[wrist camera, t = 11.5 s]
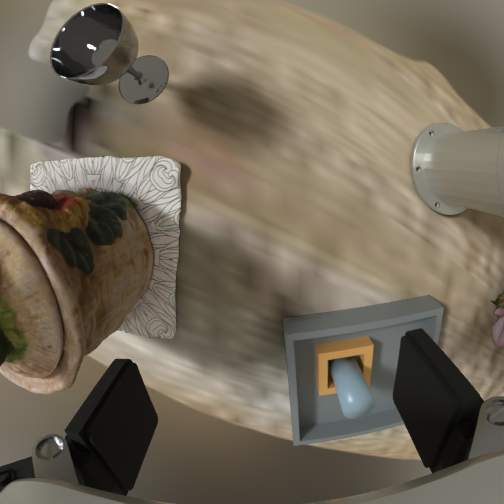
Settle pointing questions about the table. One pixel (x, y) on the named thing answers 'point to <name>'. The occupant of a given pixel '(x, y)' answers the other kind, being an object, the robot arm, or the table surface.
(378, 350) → the walled box
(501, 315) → the flower
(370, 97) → the table surface
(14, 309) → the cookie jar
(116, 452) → the robot arm
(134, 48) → the wine glass
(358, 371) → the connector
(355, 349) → the frame
